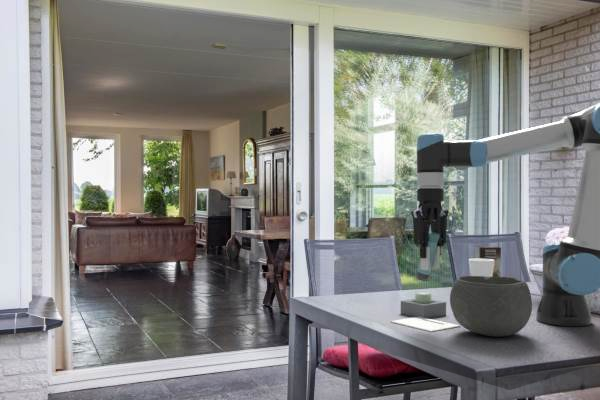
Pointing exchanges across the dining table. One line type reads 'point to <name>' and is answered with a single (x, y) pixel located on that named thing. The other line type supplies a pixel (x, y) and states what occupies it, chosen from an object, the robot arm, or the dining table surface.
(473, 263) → the foam cup
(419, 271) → the marker
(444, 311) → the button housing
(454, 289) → the bowl
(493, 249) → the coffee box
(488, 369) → the dining table surface
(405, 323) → the paper
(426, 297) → the button
